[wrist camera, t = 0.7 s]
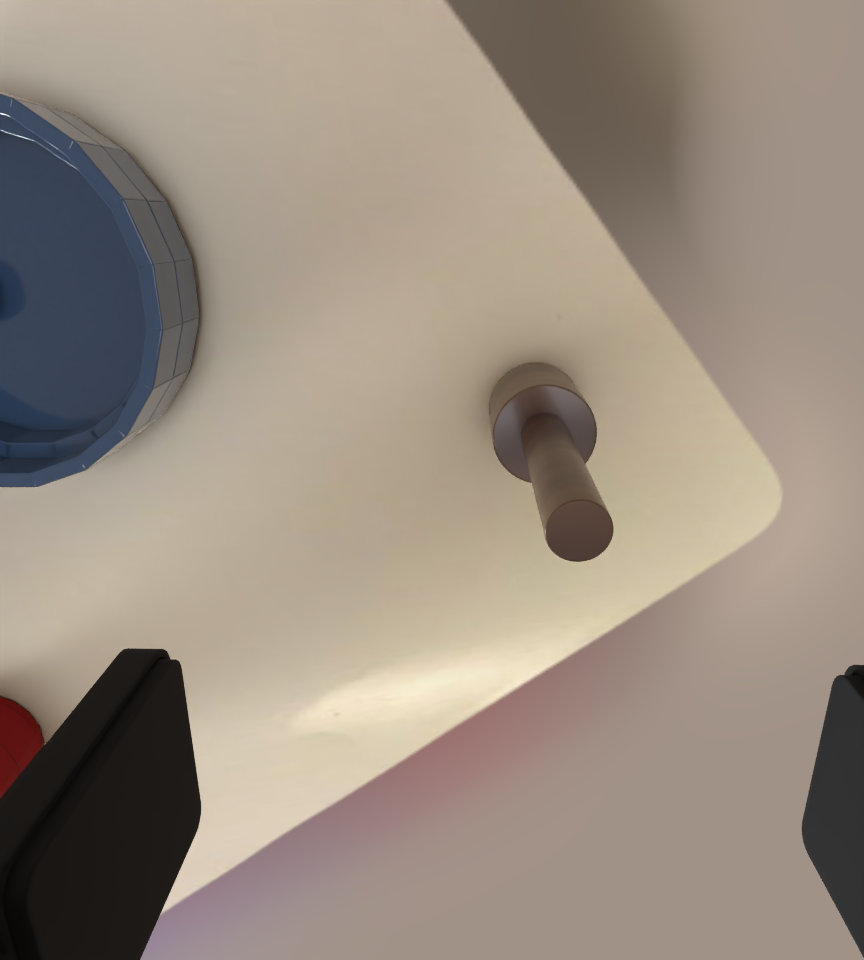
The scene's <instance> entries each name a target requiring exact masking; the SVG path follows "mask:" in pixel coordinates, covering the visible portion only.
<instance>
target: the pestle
mask: <svg viewBox="0 0 864 960" xmlns="http://www.w3.org/2000/svg"><path fill="white" fill-rule="evenodd" d="M489 412H490V422H491V430H492V439H493V445H494V449H495V452H496V455H497V457H498V459H499V461H500V462H501V464H502V465H503V466H504V467H505V468H506V469H507V470H508V471H509V472H510V473H511V474H512V475H514V476H516V477H517V478H519V479H521V480H524V481H527V482H530V483H532V486H533V490H534V494H535V498H536V502H537V506H538V510H539V514H540V518H541V522H542V526H543V531H544V535H545V539H546V542H547V544H548V546H549V547H550V549H551V550H552V551H553V552H554V553H555V554H556V555H557V556H559V557H561V558H563V559H565V560H568V561H574V562H581V561H587V560H590V559H593V558H595V557H597V556H598V555H600V554H601V553H602V552H603V551H604V550H605V549H606V548H607V547H608V545H609V543H610V541H611V539H612V536H613V522H612V519H611V517H610V515H609V512H608V510H607V508H606V506H605V504H604V502H603V500H602V498H601V496H600V494H599V492H598V490H597V488H596V486H595V484H594V482H593V480H592V477H591V475H590V473H589V471H588V469H587V467H586V465H585V463H586V462H587V461H588V459H589V458H590V456H591V454H592V452H593V450H594V447H595V443H596V437H597V427H596V421H595V418H594V415H593V413H592V411H591V409H590V407H589V406H588V404H587V403H586V401H585V400H584V398H583V397H582V395H581V394H580V392H579V391H578V389H577V387H576V386H575V384H574V383H573V381H572V380H571V379H570V378H569V376H568V375H567V374H565V373H564V372H563V371H561V370H560V369H558V368H556V367H554V366H552V365H549V364H544V363H528V364H524V365H521V366H518V367H516V368H514V369H512V370H510V371H509V372H507V373H506V374H505V375H504V376H503V377H502V378H501V379H500V380H499V381H498V383H497V384H496V386H495V388H494V390H493V392H492V395H491V398H490V404H489Z"/></svg>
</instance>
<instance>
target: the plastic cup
mask: <svg viewBox="0 0 864 960" xmlns="http://www.w3.org/2000/svg"><path fill="white" fill-rule="evenodd" d="M42 746H43V738H42V734H41V730H40V727H39V725H38V724H37V723H36V721H35V720H34V719H33V717H32V716H31V714H30V713H29V712H28V711H26V710H25V709H23V708H22V707H21V706H19V705H18V704H16V703H15V702H13V701H10V700H8V699H5V698H2V697H0V798H1V797H2V796H3V795H4V793H5V792H6V791H7V790H8V788H9V787H10V786H11V785H12V783H13V782H14V781H15V780H16V778H17V777H18V776H19V775H20V773H21V772H22V771H23V770H24V769H25V767H26V766H27V765H28V764H29V762H30V761H31V760H32V759H33V757H34V756H35V755H36V754H37V752H38V751H39V750H40V749H41V748H42Z"/></svg>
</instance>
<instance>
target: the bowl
mask: <svg viewBox="0 0 864 960" xmlns="http://www.w3.org/2000/svg"><path fill="white" fill-rule="evenodd" d="M198 323H199V309H198V301H197V293H196V286H195V278H194V270H193V262H192V260H191V256H190V253H189V251H188V249H187V246H186V244H185V242H184V240H183V237H182V235H181V233H180V230H179V228H178V226H177V224H176V221H175V219H174V217H173V214H172V212H171V210H170V208H169V205H168V203H167V201H166V200H165V198H164V197H163V196H162V195H161V194H160V192H159V191H158V190H157V189H156V187H155V186H154V185H153V184H152V183H151V181H150V180H149V179H148V178H147V176H146V175H145V174H144V173H143V172H142V170H141V169H140V168H139V167H138V165H137V164H136V163H135V162H134V160H133V159H132V158H131V157H130V156H129V154H128V153H127V152H125V151H124V150H123V149H122V148H120V147H119V146H118V145H116V144H115V143H113V142H112V141H110V140H109V139H108V138H106V137H105V136H103V135H102V134H100V133H99V132H98V131H96V130H95V129H93V128H92V127H90V126H89V125H88V124H86V123H85V122H83V121H82V120H80V119H79V118H78V117H76V116H75V115H72V114H71V113H68V112H65V111H62V110H59V109H55V108H52V107H49V106H46V105H43V104H40V103H37V102H33V101H30V100H27V99H24V98H21V97H18V96H15V95H11V94H7V93H4V92H0V487H38V486H41V485H44V484H47V483H50V482H53V481H56V480H59V479H62V478H65V477H67V476H70V475H73V474H76V473H79V472H82V471H85V470H87V469H88V468H90V467H91V466H93V465H95V464H96V463H98V462H99V461H101V460H102V459H104V458H105V457H107V456H108V455H110V454H111V453H113V452H114V451H116V450H117V449H119V448H121V447H122V446H124V445H125V444H127V443H128V442H130V441H131V440H132V439H133V438H135V437H136V436H137V435H138V434H140V433H141V432H142V431H143V430H144V429H146V428H147V427H148V426H149V425H150V424H152V423H153V422H154V421H155V420H157V419H158V418H159V417H160V416H161V415H163V414H164V412H165V411H166V410H167V409H168V407H169V405H170V403H171V402H172V400H173V398H174V396H175V395H176V393H177V391H178V390H179V388H180V386H181V384H182V383H183V381H184V379H185V377H186V376H187V374H188V372H189V369H190V366H191V361H192V355H193V350H194V344H195V339H196V333H197V328H198Z"/></svg>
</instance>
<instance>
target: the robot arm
mask: <svg viewBox="0 0 864 960" xmlns="http://www.w3.org/2000/svg"><path fill="white" fill-rule="evenodd" d="M200 816H201V800H200V793H199V786H198V779H197V772H196V765H195V758H194V751H193V744H192V737H191V731H190V724H189V717H188V710H187V703H186V696H185V689H184V682H183V675H182V668H181V664H180V663H179V661H178V660H170V657H169V654H168V653H167V651H165V650H164V649H129V648H128V649H123V650H122V651H121V652H120V653H119V654H118V655H117V657H116V658H115V659H114V660H113V662H112V663H111V664H110V665H109V667H108V668H107V669H106V670H105V672H104V673H103V674H102V675H101V677H100V678H99V679H98V680H97V682H96V683H95V684H94V685H93V687H92V688H91V689H90V690H89V691H88V693H87V694H86V695H85V696H84V698H83V699H82V700H81V701H80V703H79V704H78V705H77V706H76V708H75V709H74V710H73V711H72V713H71V714H70V715H69V716H68V718H67V719H66V720H65V721H64V723H63V724H62V725H61V726H60V727H59V729H58V730H57V731H56V732H55V734H54V735H53V736H52V737H51V739H50V740H49V741H48V742H47V744H46V745H45V746H44V747H42V748H41V749H40V750H39V751H38V752H37V754H36V755H35V756H34V757H33V759H32V760H31V761H30V762H29V764H28V765H27V766H26V767H25V769H24V770H23V771H22V772H21V773H20V775H19V776H18V777H17V778H16V780H15V781H14V782H13V783H12V785H11V786H10V787H9V788H8V790H7V791H6V792H5V793H4V795H3V796H2V797H1V798H0V960H140V958H141V956H142V954H143V952H144V949H145V947H146V945H147V943H148V940H149V938H150V936H151V933H152V931H153V929H154V927H155V925H156V922H157V920H158V918H159V916H160V913H161V911H162V909H163V907H164V904H165V902H166V900H167V898H168V895H169V893H170V891H171V888H172V886H173V884H174V882H175V879H176V877H177V875H178V873H179V870H180V868H181V866H182V864H183V861H184V859H185V857H186V855H187V852H188V850H189V848H190V846H191V843H192V841H193V839H194V837H195V834H196V832H197V829H198V826H199V822H200ZM802 836H803V842H804V845H805V848H806V850H807V853H808V855H809V857H810V859H811V861H812V862H813V864H814V866H815V868H816V870H817V871H818V873H819V875H820V877H821V879H822V881H823V883H824V884H825V887H826V888H827V890H828V892H829V894H830V896H831V898H832V900H833V901H834V903H835V905H836V907H837V909H838V911H839V913H840V914H841V916H842V918H843V920H844V922H845V924H846V925H847V927H848V929H849V931H850V933H851V935H852V937H853V938H854V940H855V942H856V944H857V946H858V948H859V950H860V952H861V953H862V955H863V957H864V665H853V666H850V667H849V668H848V669H847V670H846V672H845V675H839V676H837V677H836V678H835V679H834V681H833V684H832V688H831V693H830V698H829V702H828V707H827V711H826V716H825V720H824V725H823V730H822V734H821V739H820V744H819V748H818V752H817V757H816V762H815V766H814V771H813V775H812V780H811V784H810V789H809V794H808V798H807V803H806V808H805V812H804V816H803V821H802Z"/></svg>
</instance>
